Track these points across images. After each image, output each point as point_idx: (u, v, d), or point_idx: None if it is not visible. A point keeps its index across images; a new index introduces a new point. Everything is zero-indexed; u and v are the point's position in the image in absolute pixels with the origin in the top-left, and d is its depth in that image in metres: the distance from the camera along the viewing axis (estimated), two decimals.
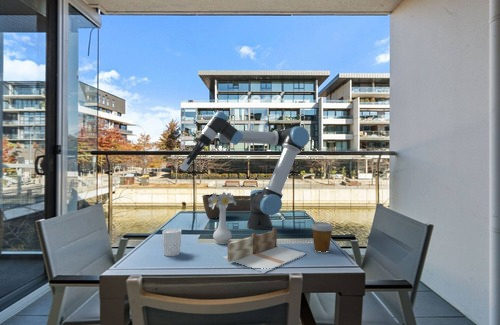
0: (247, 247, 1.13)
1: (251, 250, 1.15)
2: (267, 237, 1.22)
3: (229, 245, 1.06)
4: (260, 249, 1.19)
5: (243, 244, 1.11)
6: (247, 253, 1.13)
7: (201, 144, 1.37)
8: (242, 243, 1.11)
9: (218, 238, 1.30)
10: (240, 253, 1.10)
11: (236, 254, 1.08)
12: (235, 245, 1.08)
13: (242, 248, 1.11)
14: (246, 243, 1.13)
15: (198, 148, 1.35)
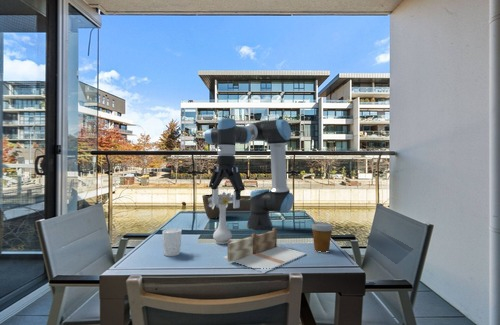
0: (247, 247, 1.13)
1: (251, 250, 1.15)
2: (267, 237, 1.22)
3: (229, 245, 1.06)
4: (260, 249, 1.19)
5: (243, 244, 1.11)
6: (247, 253, 1.13)
7: (236, 169, 1.10)
8: (242, 243, 1.11)
9: (218, 238, 1.30)
10: (240, 253, 1.10)
11: (236, 254, 1.08)
12: (235, 245, 1.08)
13: (242, 248, 1.11)
14: (246, 243, 1.13)
15: (237, 176, 1.09)
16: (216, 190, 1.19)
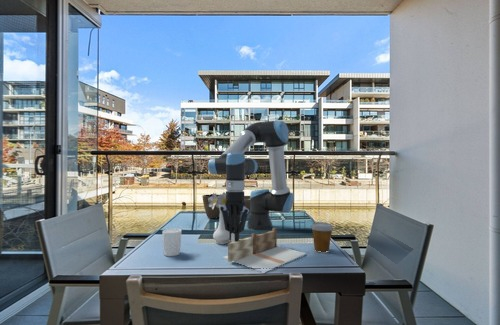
0: (247, 247, 1.13)
1: (251, 250, 1.15)
2: (267, 237, 1.22)
3: (229, 245, 1.06)
4: (260, 249, 1.19)
5: (243, 244, 1.11)
6: (247, 253, 1.13)
7: (247, 212, 1.08)
8: (242, 243, 1.11)
9: (218, 238, 1.30)
10: (241, 253, 1.10)
11: (236, 254, 1.08)
12: (235, 245, 1.08)
13: (242, 248, 1.11)
14: (246, 243, 1.12)
15: (244, 218, 1.08)
16: None
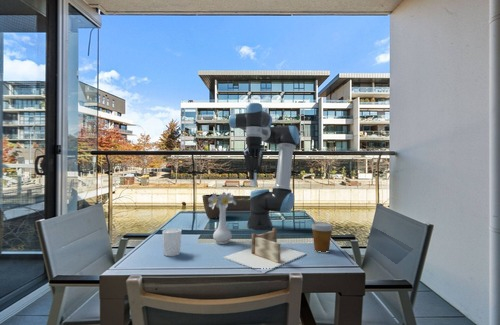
0: None
1: None
2: (267, 237, 1.22)
3: (279, 245, 1.06)
4: None
5: None
6: None
7: None
8: None
9: (218, 238, 1.30)
10: None
11: None
12: None
13: None
14: None
15: None
16: None
